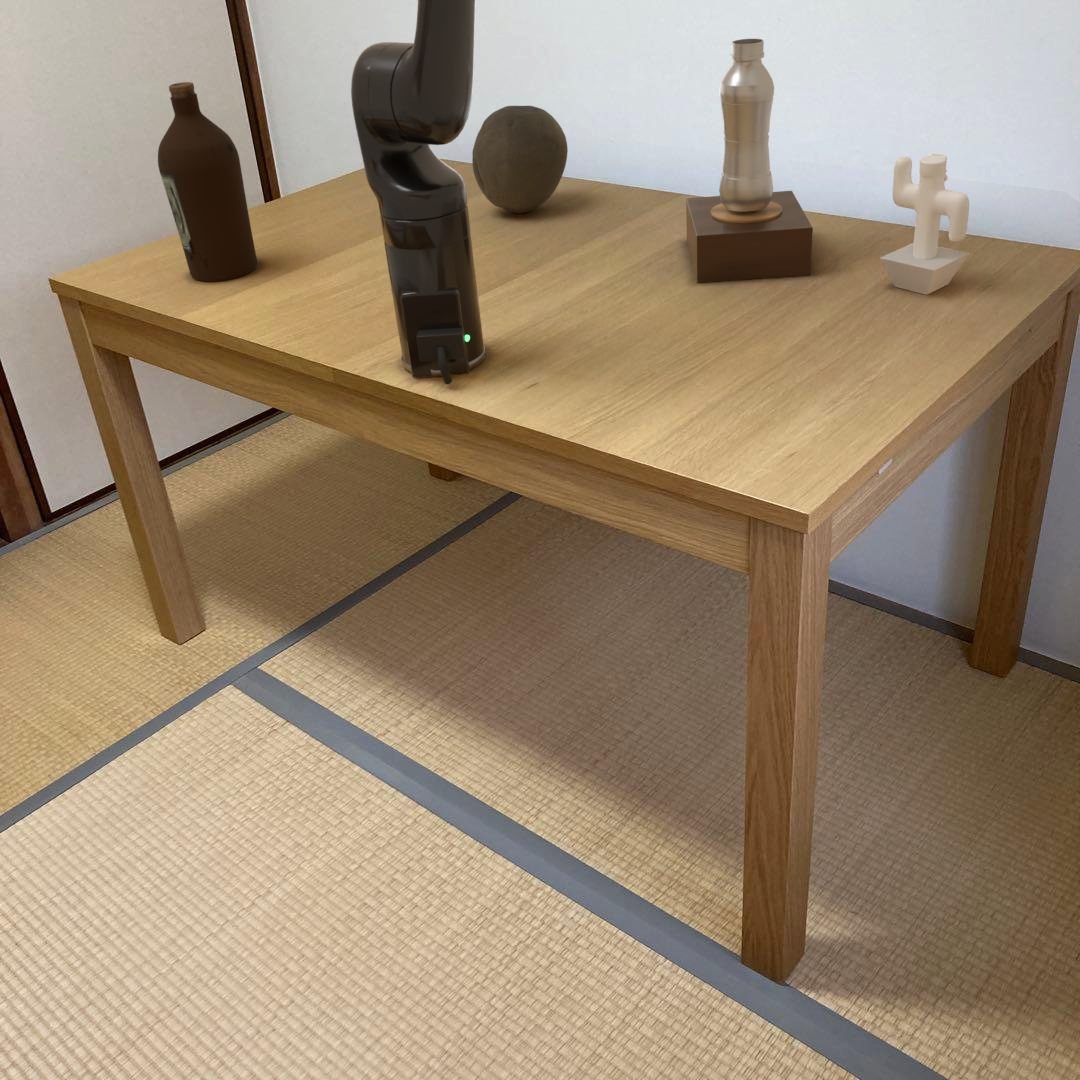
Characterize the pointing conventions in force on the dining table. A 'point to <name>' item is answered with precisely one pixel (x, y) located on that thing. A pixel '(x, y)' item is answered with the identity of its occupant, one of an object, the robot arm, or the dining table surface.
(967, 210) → the figurine
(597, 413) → the dining table surface
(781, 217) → the walnut box
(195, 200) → the olive oil
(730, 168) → the metal bottle
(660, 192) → the dining table surface
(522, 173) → the cantaloupe
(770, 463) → the dining table surface
